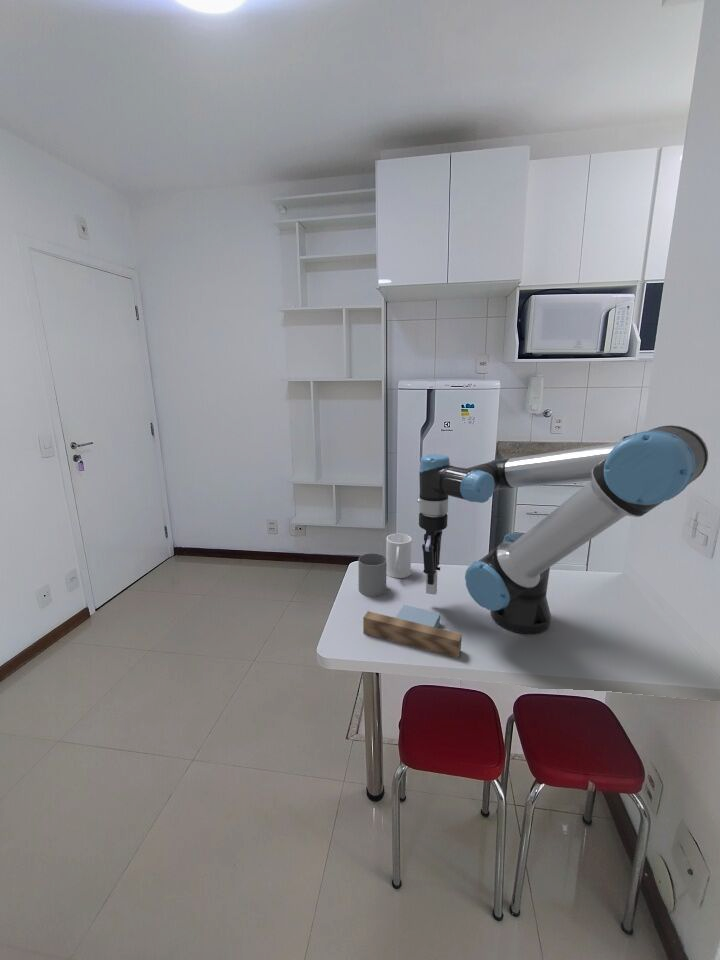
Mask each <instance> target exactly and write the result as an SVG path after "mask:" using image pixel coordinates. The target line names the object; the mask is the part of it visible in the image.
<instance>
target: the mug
mask: <svg viewBox="0 0 720 960" xmlns="http://www.w3.org/2000/svg"><path fill="white" fill-rule="evenodd" d="M412 539H413V538H412V537H411V536H409V534H405V533H391V534H389V535H387V536H386V547H385V550H386V551H385V552H386V553H385V554H386V555H385V557H386V560H387V567H386V576H388V577H391V578H395V579H404V578H408V577H409V576H411V574H412V569H411V568H412V542H413V541H412Z"/></svg>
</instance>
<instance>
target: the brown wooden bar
mask: <svg viewBox="0 0 720 960" xmlns="http://www.w3.org/2000/svg"><path fill="white" fill-rule="evenodd" d="M362 618H363V621H362V622H363V630H362V631H363V632H362V633H363V634H366V635H369V636H373V637H378V638H382V639H385V640H390V641H393V642H397V643H400V644H404V645H408V646H412V647H416V648H419V649H422V650H427V651H431V652H434V653H438V654H442V655H446V656H449V657H454V658H457V659H458V658H459V657H460V653H461V649H462V639H463V638H462V635H463V634H462V633H460V632H456V631H451V630H447V629H444V628H439V627H438V628H435V627H431V626H427V625H423V624H419V623H415V622H411V621H406V620H402V619H398V618H396V617H393V616H389V615H385V614H381V613H377V612H374V611H373V612H372V611H368V610H367V612H366V613H365V614H364V616H363V617H362Z"/></svg>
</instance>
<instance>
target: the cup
mask: <svg viewBox="0 0 720 960" xmlns="http://www.w3.org/2000/svg"><path fill="white" fill-rule="evenodd" d="M386 567H387V560H386V556H384V555H383V554H379V553H376V552H375V553H373V552H370V553H369V552H368V553H365V554H362V555H360V556H359V557H358V592H359V593H360V594H361V595H363V596H365V597H366V596H367V597H378V596H379V597H380V596H382V595H384V594H385V593H386V592H387V574H386Z"/></svg>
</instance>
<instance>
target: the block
mask: <svg viewBox="0 0 720 960" xmlns="http://www.w3.org/2000/svg"><path fill="white" fill-rule="evenodd" d="M395 618H398V619H402V620H406V621H411V622H415V623H419V624H423V625H427V626H431V627H435V628H439V626H440V623H441V613H440V612H436V611H432V610H429V609H424V608H420V607H417V606H411V605H408V604H403V606H402V607H401V608H400V610H399V612H398V613H397V615H396V616H395Z"/></svg>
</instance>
